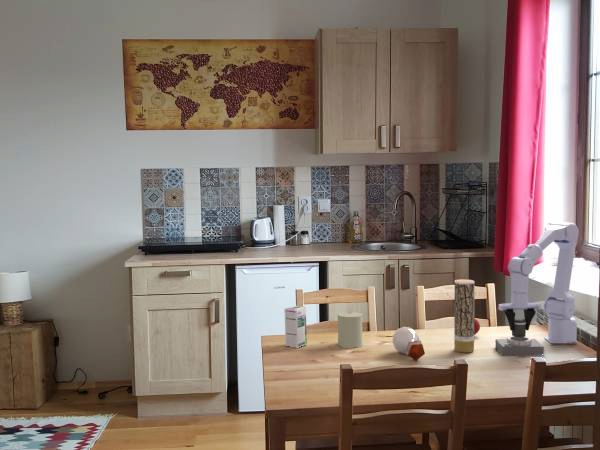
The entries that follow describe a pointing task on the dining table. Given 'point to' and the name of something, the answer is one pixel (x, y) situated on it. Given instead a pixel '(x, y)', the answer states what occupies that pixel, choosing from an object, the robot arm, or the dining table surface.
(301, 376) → the dining table surface
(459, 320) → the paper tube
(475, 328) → the onion
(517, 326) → the lens
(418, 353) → the potion bottle
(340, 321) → the can
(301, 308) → the syrup box
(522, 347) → the block
